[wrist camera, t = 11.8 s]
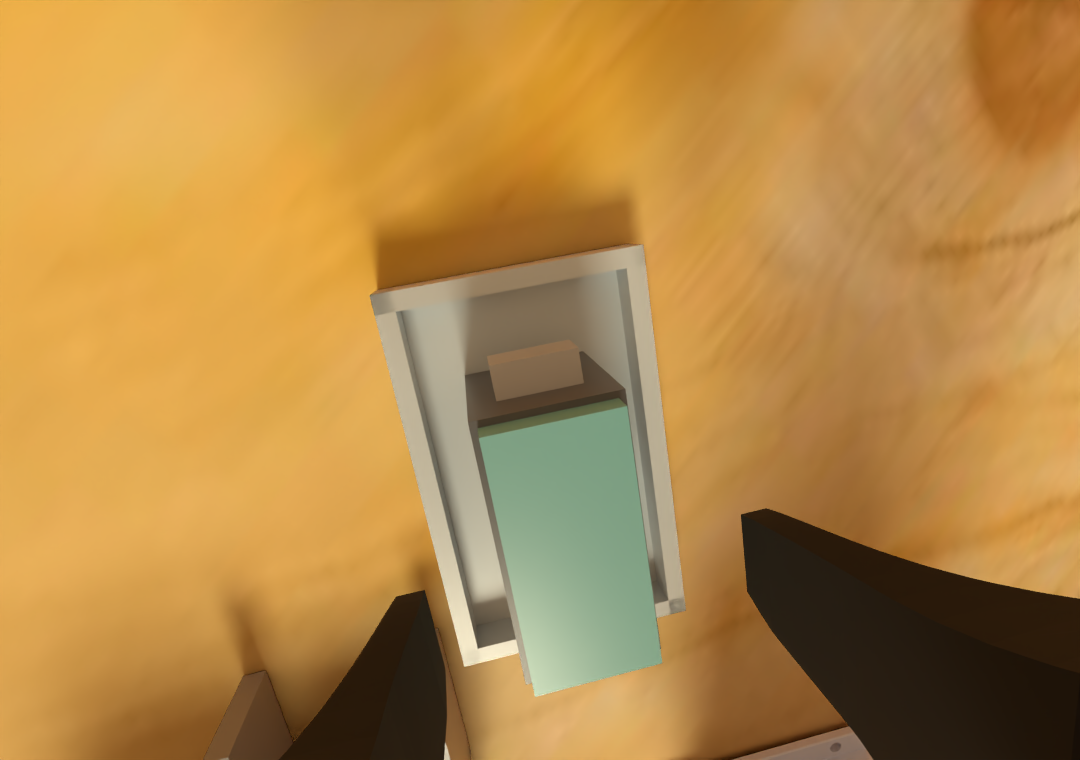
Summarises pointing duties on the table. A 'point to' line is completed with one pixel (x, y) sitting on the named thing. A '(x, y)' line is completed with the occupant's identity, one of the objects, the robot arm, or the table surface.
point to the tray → (462, 348)
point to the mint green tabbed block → (564, 514)
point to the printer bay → (263, 737)
